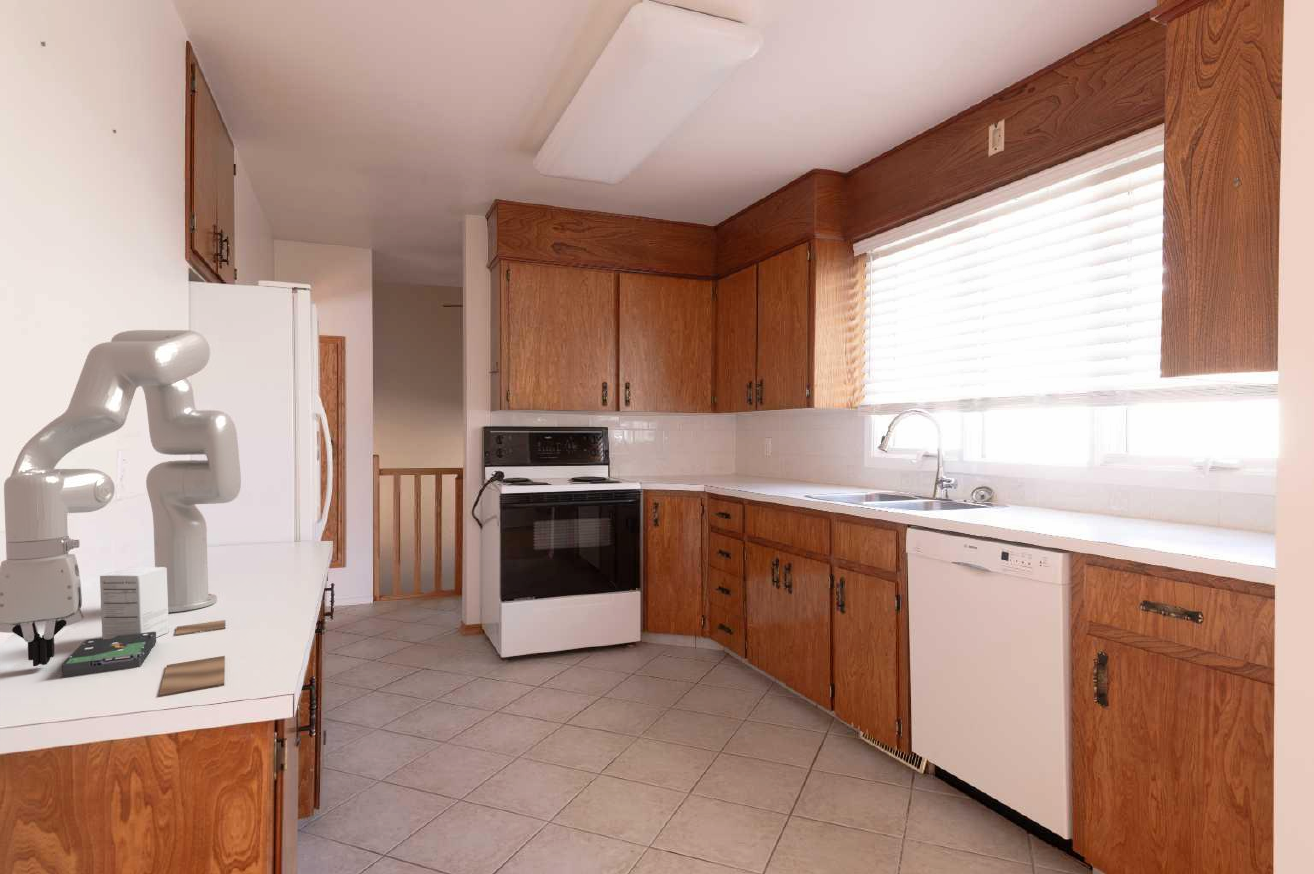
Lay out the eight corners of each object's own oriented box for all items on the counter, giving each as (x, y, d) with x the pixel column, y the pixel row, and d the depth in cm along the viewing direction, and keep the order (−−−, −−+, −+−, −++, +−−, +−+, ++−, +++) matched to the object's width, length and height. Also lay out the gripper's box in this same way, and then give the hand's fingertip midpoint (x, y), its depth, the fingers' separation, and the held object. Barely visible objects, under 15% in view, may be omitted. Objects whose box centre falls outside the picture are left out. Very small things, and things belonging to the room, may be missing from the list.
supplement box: (132, 632, 134) (130, 566, 134) (170, 632, 134) (168, 566, 133) (100, 645, 127) (98, 575, 126) (140, 645, 126) (138, 574, 126)
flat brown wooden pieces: (177, 628, 137) (176, 626, 137) (225, 621, 141) (225, 619, 141) (159, 696, 102) (159, 694, 102) (224, 685, 106) (224, 683, 106)
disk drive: (84, 655, 123) (60, 681, 110) (84, 639, 123) (60, 663, 110) (156, 645, 128) (142, 669, 115) (156, 630, 128) (141, 652, 115)
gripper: (100, 542, 121) (103, 648, 121) (-18, 551, 113) (-14, 665, 113) (92, 548, 114) (96, 660, 115) (-33, 558, 107) (-29, 679, 107)
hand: (41, 662), depth 114 cm, fingers closed
